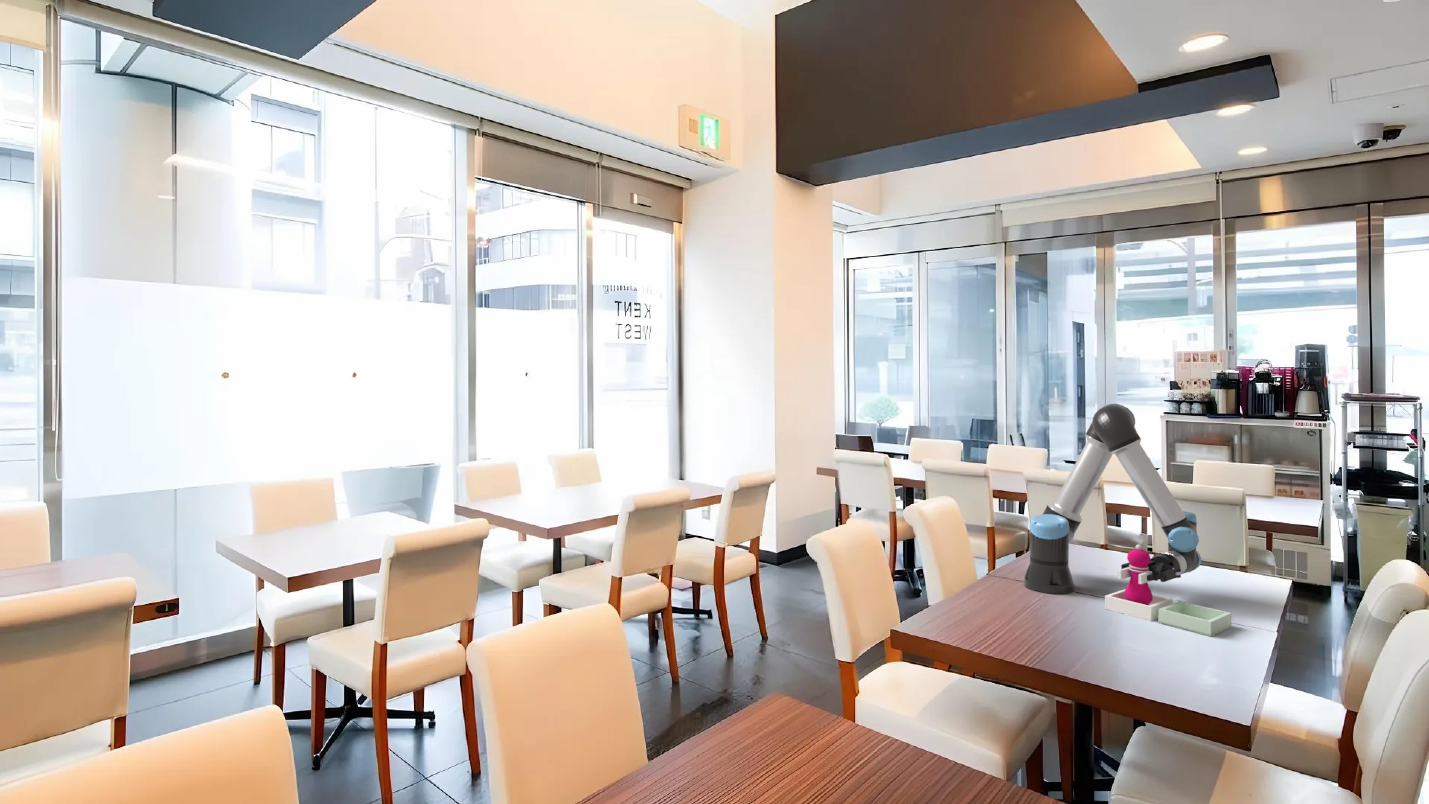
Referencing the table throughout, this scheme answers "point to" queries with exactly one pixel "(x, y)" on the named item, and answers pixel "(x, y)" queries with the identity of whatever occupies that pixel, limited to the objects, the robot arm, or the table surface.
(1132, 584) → the pepper mill
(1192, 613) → the tray
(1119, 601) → the bin
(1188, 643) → the table surface
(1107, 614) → the table surface
